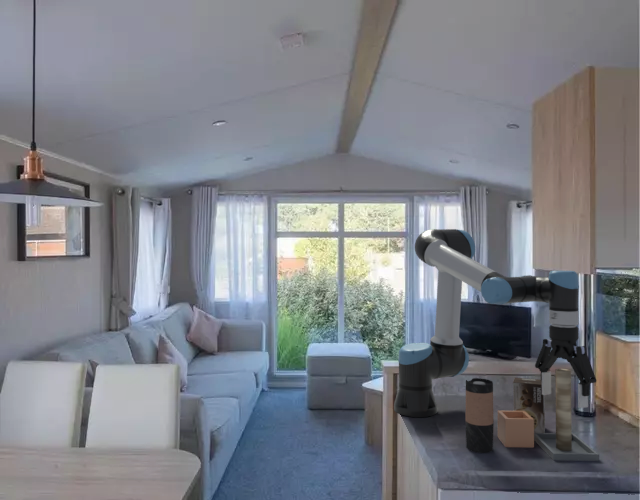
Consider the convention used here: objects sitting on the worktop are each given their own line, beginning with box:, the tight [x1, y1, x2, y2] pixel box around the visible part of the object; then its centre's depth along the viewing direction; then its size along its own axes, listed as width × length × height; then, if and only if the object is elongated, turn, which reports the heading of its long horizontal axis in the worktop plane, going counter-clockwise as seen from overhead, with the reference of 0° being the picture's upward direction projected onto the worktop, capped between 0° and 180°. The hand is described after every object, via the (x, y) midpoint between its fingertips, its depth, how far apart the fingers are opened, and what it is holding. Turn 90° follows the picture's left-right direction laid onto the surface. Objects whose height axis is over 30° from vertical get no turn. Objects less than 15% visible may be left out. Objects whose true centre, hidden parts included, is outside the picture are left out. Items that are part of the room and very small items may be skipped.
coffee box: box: [512, 377, 546, 433], centre depth 167 cm, size 9×6×16 cm
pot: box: [497, 409, 535, 448], centre depth 156 cm, size 8×8×9 cm
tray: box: [534, 432, 600, 462], centre depth 150 cm, size 16×12×3 cm
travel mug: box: [465, 377, 495, 454], centre depth 151 cm, size 8×8×20 cm
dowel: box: [554, 368, 573, 451], centre depth 150 cm, size 4×4×22 cm
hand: (563, 400), depth 150 cm, fingers open, 13 cm apart
